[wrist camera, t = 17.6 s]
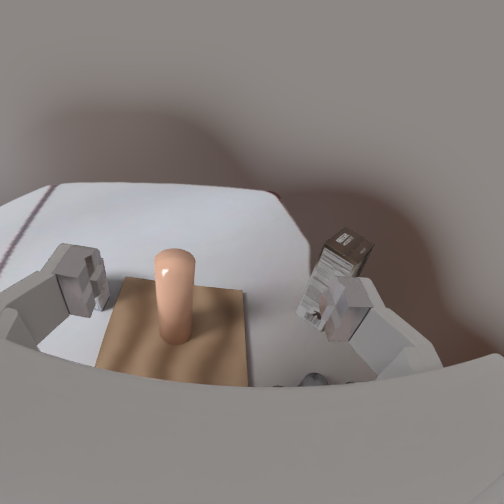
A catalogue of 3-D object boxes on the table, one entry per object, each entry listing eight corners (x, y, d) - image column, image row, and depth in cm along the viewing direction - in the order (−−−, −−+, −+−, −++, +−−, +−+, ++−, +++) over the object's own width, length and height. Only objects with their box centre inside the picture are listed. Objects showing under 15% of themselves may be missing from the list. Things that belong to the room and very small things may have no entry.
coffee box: (317, 291, 56) (345, 225, 47) (342, 308, 53) (376, 243, 44) (293, 313, 50) (322, 241, 41) (321, 333, 47) (359, 263, 38)
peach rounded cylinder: (157, 342, 38) (150, 271, 30) (162, 317, 42) (159, 246, 34) (190, 346, 39) (193, 277, 31) (192, 321, 43) (197, 251, 35)
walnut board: (92, 383, 30) (90, 380, 30) (126, 280, 48) (125, 276, 48) (248, 404, 34) (249, 401, 33) (241, 294, 52) (242, 290, 51)
